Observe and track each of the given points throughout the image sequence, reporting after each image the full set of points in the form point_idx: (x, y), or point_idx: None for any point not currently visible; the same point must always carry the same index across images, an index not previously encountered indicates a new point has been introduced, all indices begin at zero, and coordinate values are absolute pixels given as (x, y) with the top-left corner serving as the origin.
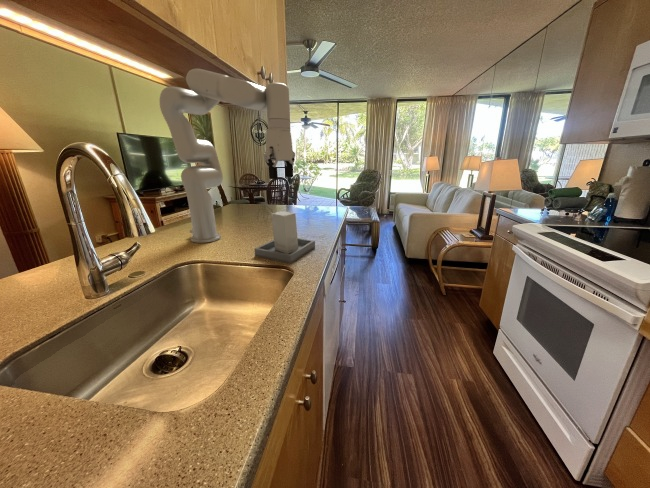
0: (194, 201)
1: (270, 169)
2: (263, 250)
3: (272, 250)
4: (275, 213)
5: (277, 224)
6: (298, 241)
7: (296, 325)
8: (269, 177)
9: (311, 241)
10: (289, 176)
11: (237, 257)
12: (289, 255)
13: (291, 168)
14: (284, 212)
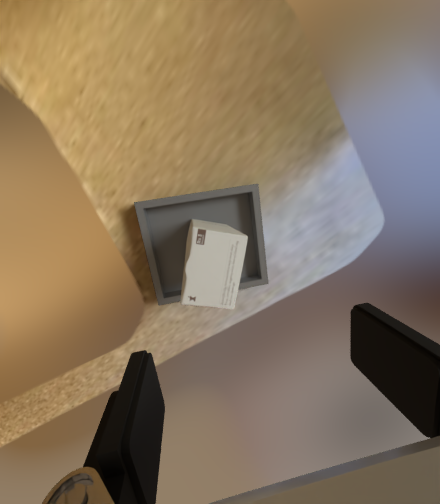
0: None
1: (94, 466)
2: (141, 232)
3: (182, 219)
4: (198, 246)
5: (185, 256)
6: (256, 240)
7: (22, 431)
8: (131, 359)
9: (260, 280)
10: (351, 342)
11: (103, 169)
12: (158, 302)
13: (407, 417)
14: (224, 267)
